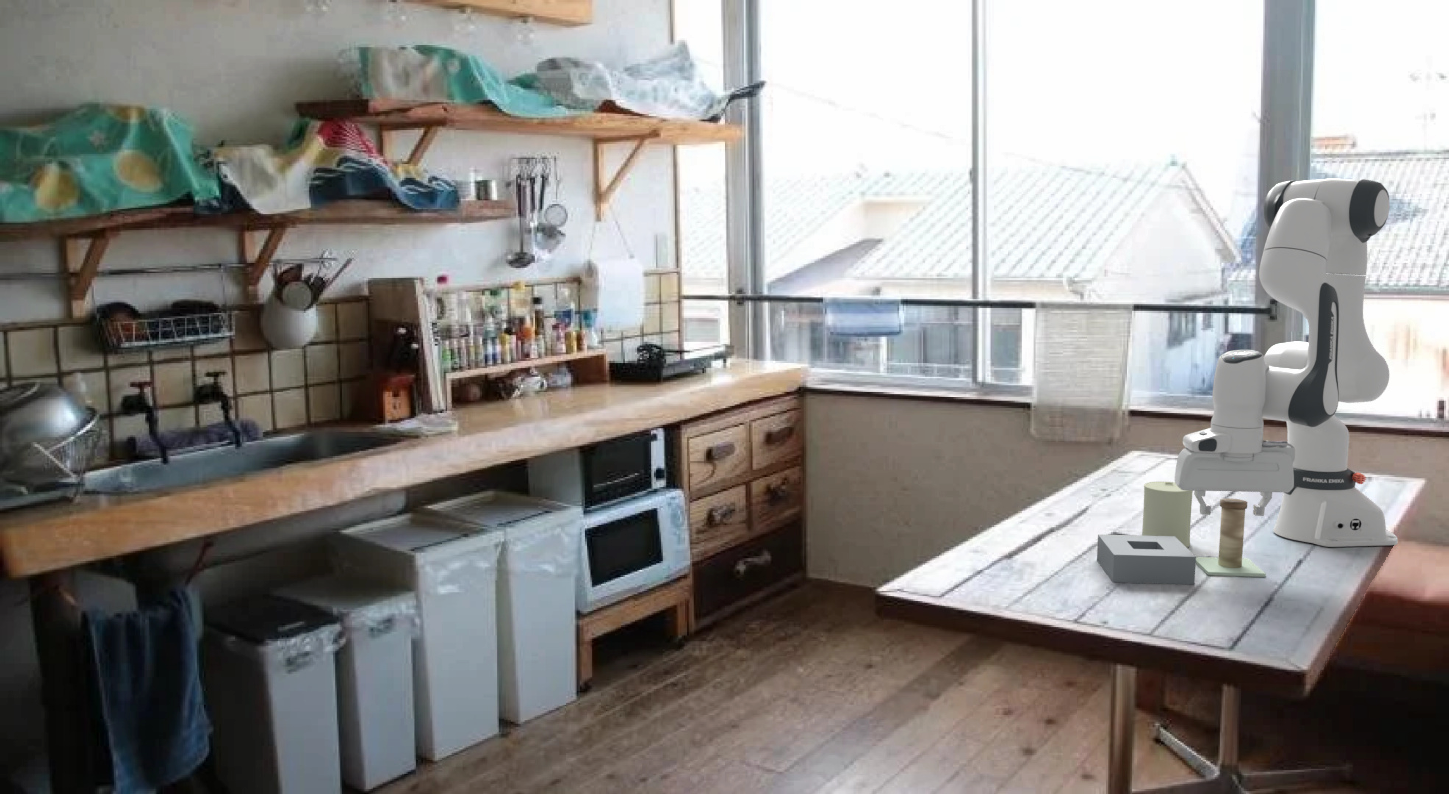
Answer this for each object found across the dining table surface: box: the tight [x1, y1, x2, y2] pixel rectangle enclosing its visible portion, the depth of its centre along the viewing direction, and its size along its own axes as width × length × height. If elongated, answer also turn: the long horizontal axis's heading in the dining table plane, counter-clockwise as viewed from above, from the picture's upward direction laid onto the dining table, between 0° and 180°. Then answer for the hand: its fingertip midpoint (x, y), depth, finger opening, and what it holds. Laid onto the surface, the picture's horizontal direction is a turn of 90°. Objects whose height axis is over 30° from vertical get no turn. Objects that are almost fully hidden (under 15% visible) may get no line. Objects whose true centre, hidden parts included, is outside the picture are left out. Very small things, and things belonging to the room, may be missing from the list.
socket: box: [1096, 534, 1197, 585], centre depth 222 cm, size 14×14×5 cm
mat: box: [1196, 556, 1267, 578], centre depth 224 cm, size 10×10×1 cm
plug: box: [1218, 497, 1248, 568], centre depth 224 cm, size 5×5×12 cm
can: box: [1141, 481, 1194, 549], centre depth 241 cm, size 9×9×12 cm
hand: (1231, 514), depth 223 cm, fingers open, 8 cm apart
